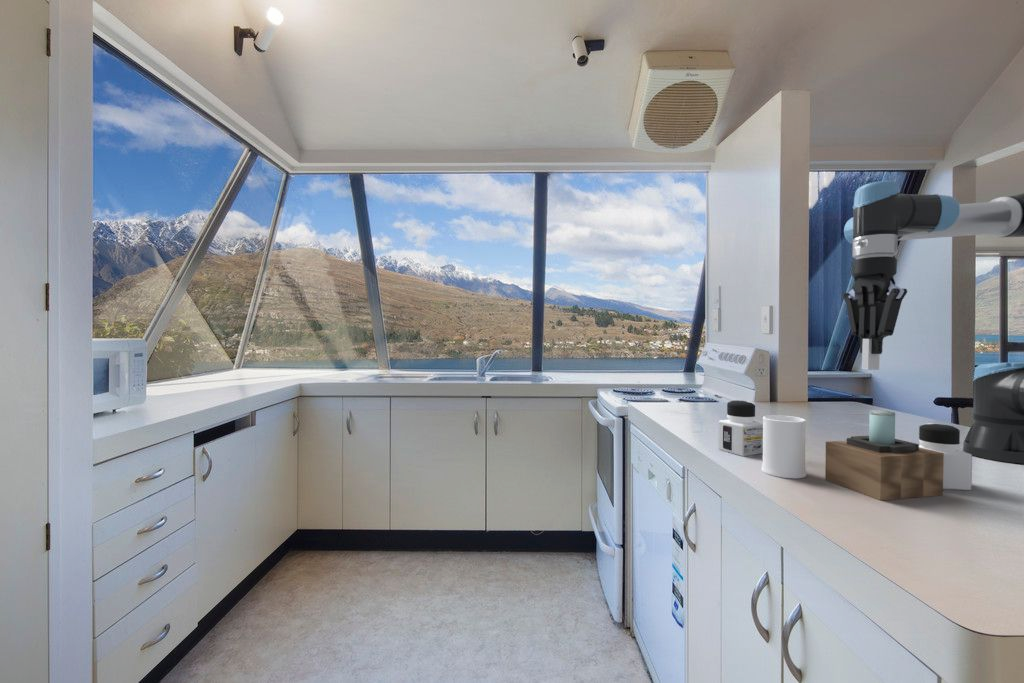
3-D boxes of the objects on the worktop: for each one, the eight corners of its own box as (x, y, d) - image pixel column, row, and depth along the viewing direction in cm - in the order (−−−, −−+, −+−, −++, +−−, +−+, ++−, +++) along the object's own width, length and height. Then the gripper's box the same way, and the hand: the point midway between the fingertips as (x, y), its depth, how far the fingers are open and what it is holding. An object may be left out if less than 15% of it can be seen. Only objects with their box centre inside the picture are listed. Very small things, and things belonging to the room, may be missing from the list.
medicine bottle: (972, 490, 90) (973, 429, 90) (929, 488, 92) (930, 427, 91) (946, 479, 97) (947, 422, 97) (906, 477, 99) (907, 420, 98)
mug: (763, 461, 111) (764, 411, 111) (806, 467, 107) (806, 414, 106) (760, 474, 101) (760, 419, 101) (806, 481, 96) (807, 423, 96)
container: (742, 456, 115) (743, 404, 115) (717, 449, 123) (718, 400, 122) (764, 453, 119) (765, 402, 118) (738, 446, 126) (739, 398, 125)
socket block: (881, 475, 100) (882, 433, 100) (942, 495, 88) (943, 446, 88) (825, 479, 97) (825, 435, 97) (880, 500, 85) (880, 450, 85)
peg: (880, 452, 95) (881, 409, 95) (900, 457, 91) (900, 413, 91) (863, 453, 94) (864, 410, 94) (882, 458, 90) (883, 414, 90)
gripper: (832, 261, 104) (829, 366, 105) (887, 252, 92) (883, 372, 92) (861, 263, 106) (858, 367, 106) (920, 253, 93) (916, 372, 93)
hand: (870, 369), depth 99 cm, fingers closed
